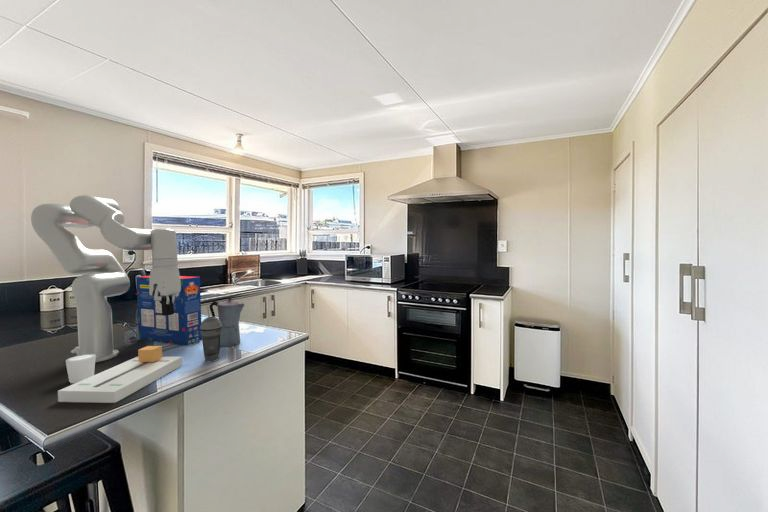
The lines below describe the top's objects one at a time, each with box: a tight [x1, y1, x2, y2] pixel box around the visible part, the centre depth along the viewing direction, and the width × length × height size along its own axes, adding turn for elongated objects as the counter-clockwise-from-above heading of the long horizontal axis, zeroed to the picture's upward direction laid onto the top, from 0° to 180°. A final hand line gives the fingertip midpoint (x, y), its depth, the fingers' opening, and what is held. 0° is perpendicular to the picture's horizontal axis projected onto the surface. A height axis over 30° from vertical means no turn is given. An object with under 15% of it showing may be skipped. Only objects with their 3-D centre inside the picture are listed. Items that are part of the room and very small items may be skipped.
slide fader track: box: [57, 356, 183, 404], centre depth 98 cm, size 16×26×3 cm, turn 177°
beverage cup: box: [200, 304, 222, 362], centre depth 116 cm, size 7×7×20 cm
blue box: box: [135, 275, 202, 347], centre depth 140 cm, size 28×8×28 cm, turn 71°
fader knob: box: [137, 345, 163, 362], centre depth 107 cm, size 5×4×4 cm
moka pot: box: [209, 296, 246, 347], centre depth 134 cm, size 10×15×20 cm, turn 89°
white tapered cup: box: [65, 354, 96, 384], centre depth 100 cm, size 7×7×7 cm
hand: (168, 314), depth 114 cm, fingers closed
